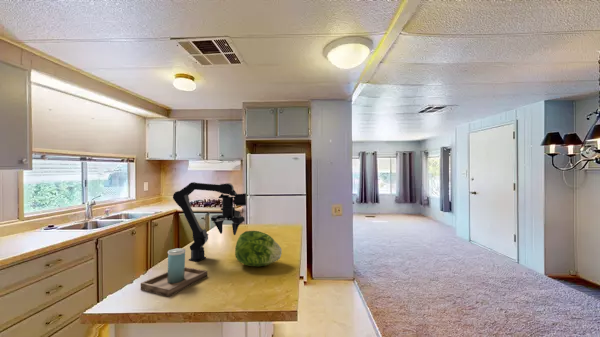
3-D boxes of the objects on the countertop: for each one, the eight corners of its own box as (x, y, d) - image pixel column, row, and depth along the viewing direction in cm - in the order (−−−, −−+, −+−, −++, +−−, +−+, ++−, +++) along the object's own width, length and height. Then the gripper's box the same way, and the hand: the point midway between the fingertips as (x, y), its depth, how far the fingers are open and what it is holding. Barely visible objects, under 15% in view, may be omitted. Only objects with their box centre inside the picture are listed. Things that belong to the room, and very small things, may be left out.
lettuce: (276, 274, 117) (283, 236, 120) (227, 265, 118) (235, 228, 121) (280, 267, 134) (285, 234, 137) (237, 260, 135) (244, 228, 139)
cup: (165, 279, 108) (166, 250, 109) (182, 275, 112) (182, 247, 113) (169, 284, 103) (169, 253, 103) (186, 280, 107) (187, 250, 108)
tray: (140, 289, 101) (140, 283, 101) (181, 271, 120) (181, 266, 120) (168, 296, 95) (168, 289, 95) (207, 276, 114) (207, 271, 114)
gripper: (250, 205, 143) (250, 232, 143) (224, 203, 150) (224, 229, 150) (238, 207, 133) (238, 237, 133) (210, 206, 140) (210, 234, 140)
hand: (227, 234), depth 139 cm, fingers open, 9 cm apart
